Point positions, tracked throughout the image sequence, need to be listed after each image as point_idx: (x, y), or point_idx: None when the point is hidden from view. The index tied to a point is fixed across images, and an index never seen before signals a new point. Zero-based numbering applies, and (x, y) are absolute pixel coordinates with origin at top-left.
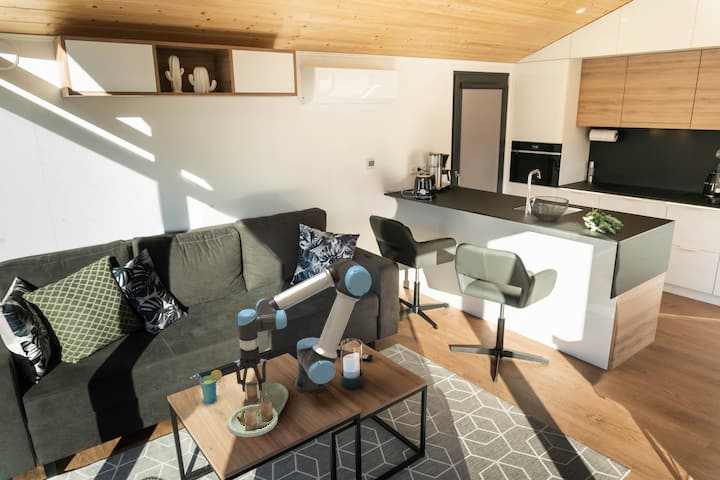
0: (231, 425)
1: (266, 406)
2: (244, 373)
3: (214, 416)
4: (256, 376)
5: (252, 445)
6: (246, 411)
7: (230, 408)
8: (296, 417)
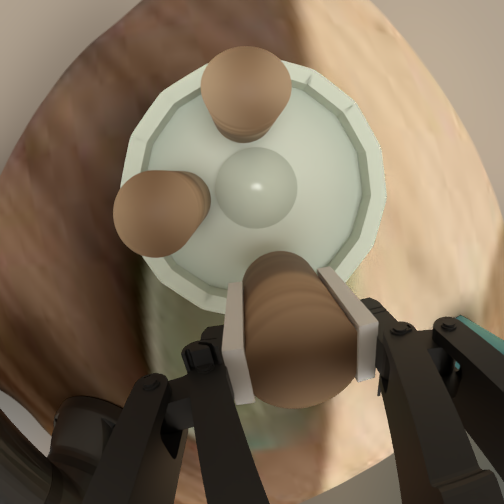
0: (354, 122)
1: (138, 177)
2: (452, 435)
3: (437, 238)
4: (238, 437)
5: (212, 31)
6: (279, 100)
7: (388, 299)
8: (69, 249)
